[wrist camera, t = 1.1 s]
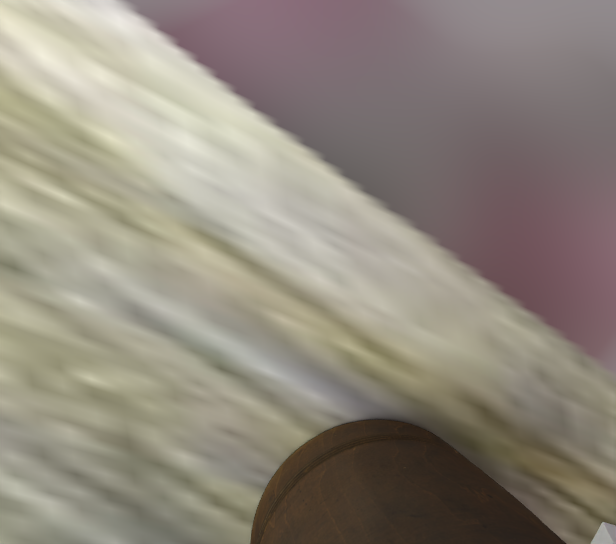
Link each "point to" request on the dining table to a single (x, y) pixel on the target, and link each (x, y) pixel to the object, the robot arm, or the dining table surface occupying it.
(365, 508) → the wooden container
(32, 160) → the dining table surface
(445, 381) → the dining table surface
